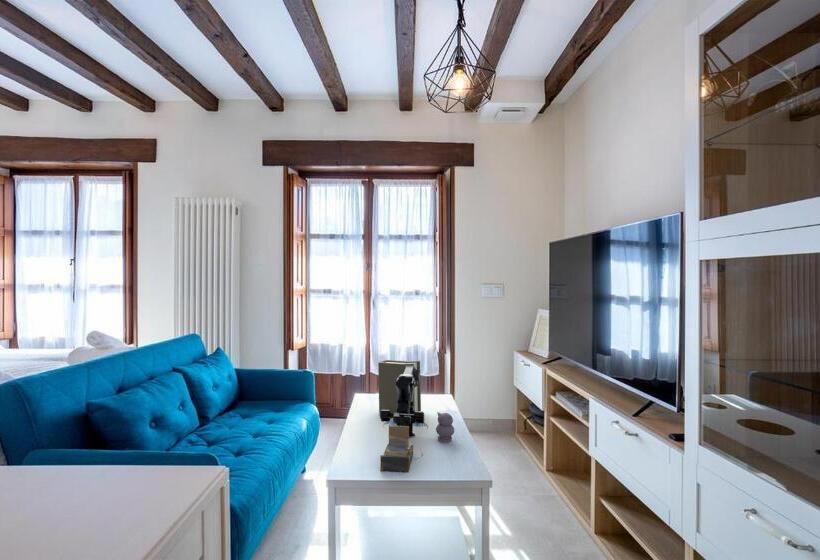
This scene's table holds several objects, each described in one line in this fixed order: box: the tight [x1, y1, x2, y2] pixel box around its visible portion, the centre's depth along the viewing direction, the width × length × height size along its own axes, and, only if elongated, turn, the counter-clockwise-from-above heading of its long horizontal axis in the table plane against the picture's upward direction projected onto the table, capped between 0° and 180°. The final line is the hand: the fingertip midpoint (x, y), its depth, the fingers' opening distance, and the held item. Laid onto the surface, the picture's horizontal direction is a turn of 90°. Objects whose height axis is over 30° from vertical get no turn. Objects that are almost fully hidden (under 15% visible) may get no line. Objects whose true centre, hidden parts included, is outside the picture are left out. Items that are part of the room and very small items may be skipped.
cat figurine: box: [435, 411, 455, 444], centre depth 184 cm, size 8×8×12 cm
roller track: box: [379, 443, 414, 474], centre depth 162 cm, size 17×11×6 cm, turn 174°
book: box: [377, 359, 422, 413], centre depth 224 cm, size 22×9×28 cm, turn 65°
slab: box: [387, 425, 410, 457], centre depth 163 cm, size 6×8×10 cm
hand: (400, 435), depth 169 cm, fingers closed
